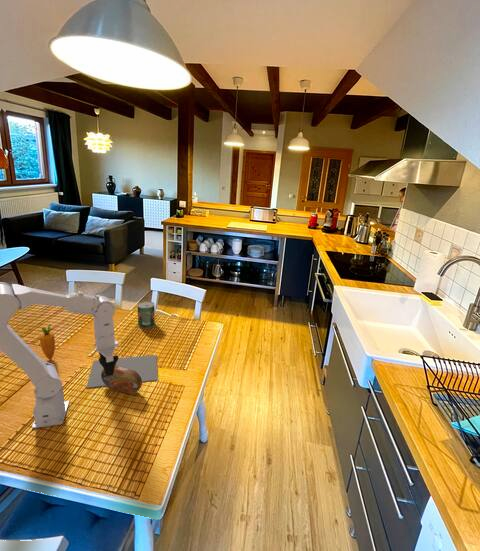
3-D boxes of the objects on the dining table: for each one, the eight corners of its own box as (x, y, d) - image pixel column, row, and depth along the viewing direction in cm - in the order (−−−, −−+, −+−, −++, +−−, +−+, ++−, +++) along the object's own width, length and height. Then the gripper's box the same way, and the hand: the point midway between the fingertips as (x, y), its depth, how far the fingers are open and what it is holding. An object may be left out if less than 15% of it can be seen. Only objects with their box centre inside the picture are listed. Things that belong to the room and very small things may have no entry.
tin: (101, 385, 109) (99, 365, 106) (107, 379, 112) (105, 360, 109) (138, 397, 105) (137, 377, 102) (143, 391, 108) (143, 371, 105)
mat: (157, 380, 114) (157, 379, 114) (86, 388, 108) (86, 387, 107) (156, 355, 129) (156, 354, 129) (93, 361, 122) (93, 360, 122)
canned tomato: (135, 323, 152) (134, 303, 148) (150, 319, 157) (149, 299, 153) (142, 330, 147) (141, 309, 143) (157, 325, 152) (157, 305, 148)
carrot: (54, 354, 124) (49, 320, 119) (59, 359, 121) (55, 325, 116) (40, 359, 121) (35, 325, 116) (46, 364, 118) (40, 330, 113)
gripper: (122, 341, 95) (124, 377, 100) (113, 320, 107) (115, 354, 111) (97, 346, 92) (101, 384, 96) (91, 324, 103) (94, 359, 108)
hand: (107, 368), depth 104 cm, fingers open, 7 cm apart
